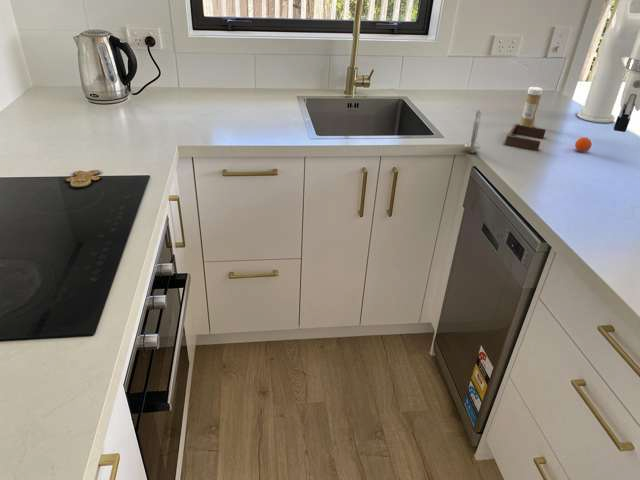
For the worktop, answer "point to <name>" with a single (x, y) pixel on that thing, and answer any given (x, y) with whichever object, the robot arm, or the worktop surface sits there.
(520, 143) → the brown u-shaped piece
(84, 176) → the cookie
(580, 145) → the ball
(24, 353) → the worktop surface
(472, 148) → the screw
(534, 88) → the sprinkles bottle
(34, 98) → the worktop surface
